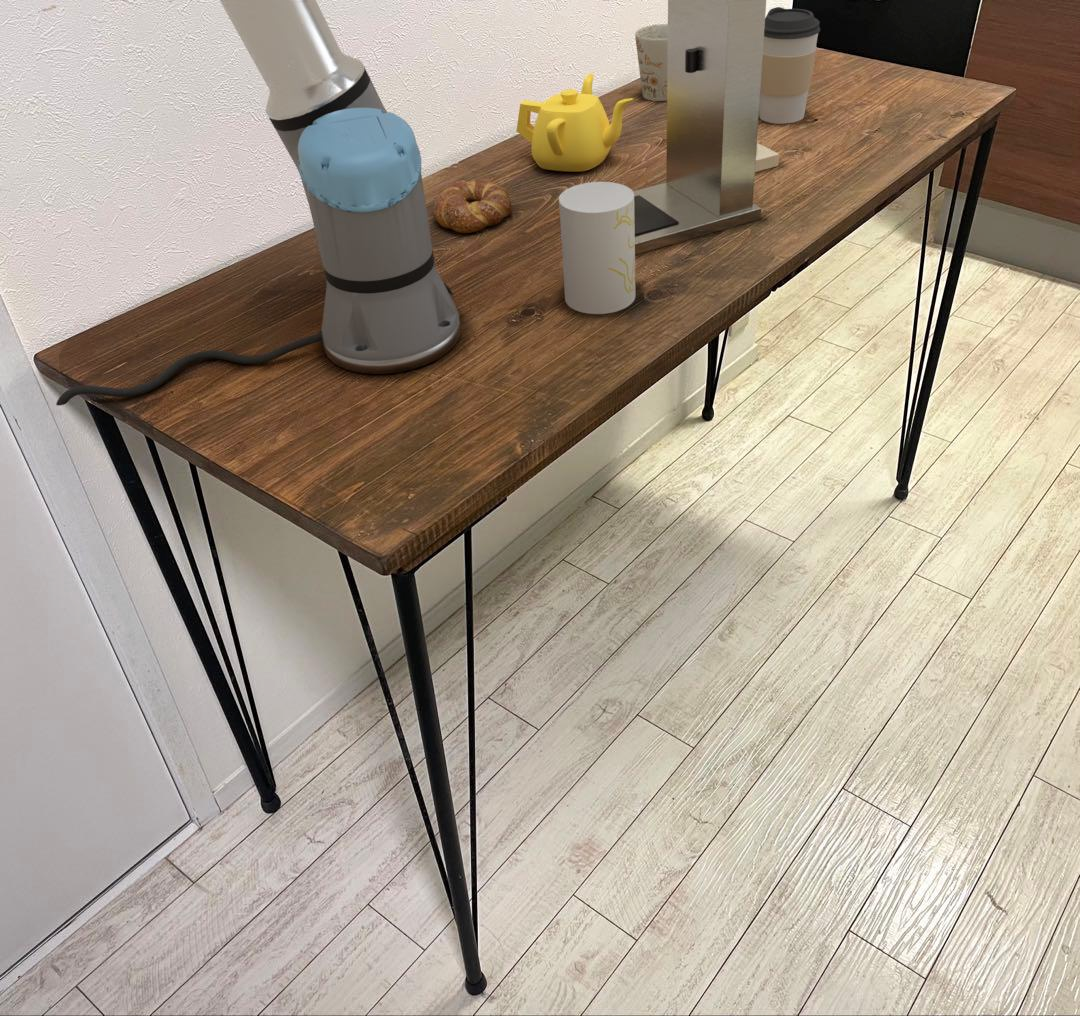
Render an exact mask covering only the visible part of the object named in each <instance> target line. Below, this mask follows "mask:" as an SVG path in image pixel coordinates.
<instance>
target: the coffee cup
mask: <svg viewBox="0 0 1080 1016" xmlns="http://www.w3.org/2000/svg"><path fill="white" fill-rule="evenodd" d="M820 32H821V27H820V20H819V19H818V18H816V17H815V15H814V12H813V11H810V10H808V9H803V8H784V7H782V6H777V7H773V8H770V9H769V10H768V12H767V14H766V15H765V28H764V43H763V58H762V73H761V88H760V103H759V119H760V120H761V121H763V122H765V123H769V124H776V125H777V124H778V125H781V124H783V125H785V124H792V123H796V122H800V121H801V120H803V119H804V118H805V114H806V108H807V103H808V102H807V101H808V96H809V91H810V90H811V84H812V78H813V73H814V67H815V62H816V55H817V50H818V47H817V43H818V36H819V33H820Z"/></svg>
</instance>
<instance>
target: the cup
mask: <svg viewBox="0 0 1080 1016" xmlns="http://www.w3.org/2000/svg"><path fill="white" fill-rule="evenodd" d="M633 191H634V190H633V189H631V188H630V187H629V186H627V185H624V184H621V183H618V182H612V181H611V182H610V181H591V182H584V183H580V184H576V185H574V186H571V187H568V188H566V189H565V190H564V191H563V192H561V194H559V197H558V207H559V209H558V210H559V225H560V240H561V257H562V272H563V274H562V275H563V288H564V301H565V303H566V305H567V306H568V307H569V308H571V309H572V310H574V311H576V312H579V313H583V314H588V315H605V314H607V315H608V314H612V313H616V312H619V311H622V310H624V309H626V308H628V307H629V306H630V305H632V304H633V303H634V301H635V299H636V255H635V219H634V192H633Z"/></svg>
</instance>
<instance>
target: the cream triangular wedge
mask: <svg viewBox="0 0 1080 1016" xmlns="http://www.w3.org/2000/svg"><path fill="white" fill-rule="evenodd" d="M779 165H780V153H779V152H776V151H774V150H772V149H770V148H769V147H766V146H765V145H763V144H761V143H759V141H758V140H757V148H756V163H755V173H758V172H760V171H766V170H768V169H772V168H776V167H779Z"/></svg>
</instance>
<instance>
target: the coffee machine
mask: <svg viewBox="0 0 1080 1016" xmlns="http://www.w3.org/2000/svg"><path fill="white" fill-rule="evenodd" d="M766 11H767V0H667V24H668V55H667V101H666V160H665V161H666V163H665V165H666V167H665V168H666V170H665V171H666V173H665V175H666V176H665V180H666V181H665V182H662V183H659V184H656V185H651V186H648V187H644V188H640V189H637V190H632V191H633V192H634V219H635V256H636V255H639V254H643V253H647V252H650V251H653V250H657V249H660V248H665V247H668V246H671V245H674V244H678V243H682V242H685V241H689V240H693V239H695V238H698V237H699V238H700V237H702V236H706V235H709V234H713V233H716V232H720V231H723V230H727V229H730V228H735V227H737V226H740V225H741V226H742V225H744V224H747V223H751V222H755V221H758V220H759V221H760V220H761V218H762V217H761V216H762V207H760V206H758V205H757V204H755V203H754V193H755V192H754V191H755V176H756V172H755V163H756V148H757V141H758V133H759V132H758V131H759V119H760V117H759V103H760V88H761V73H762V58H763V43H764V28H765V18H766V13H767V12H766Z"/></svg>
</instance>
